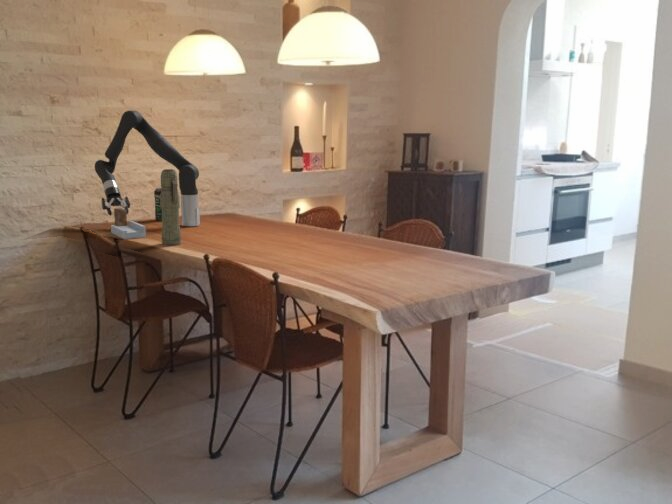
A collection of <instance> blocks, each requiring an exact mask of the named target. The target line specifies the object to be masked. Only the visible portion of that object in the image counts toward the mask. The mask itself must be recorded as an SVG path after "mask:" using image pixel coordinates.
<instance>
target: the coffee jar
mask: <svg viewBox="0 0 672 504" xmlns="http://www.w3.org/2000/svg"><path fill="white" fill-rule="evenodd" d="M161 190H162V188H161V187H159V188H155V189H154V194H153V196H154V217H155V220H157V221H160V222H162V209H161V207H160V195H161Z"/></svg>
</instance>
